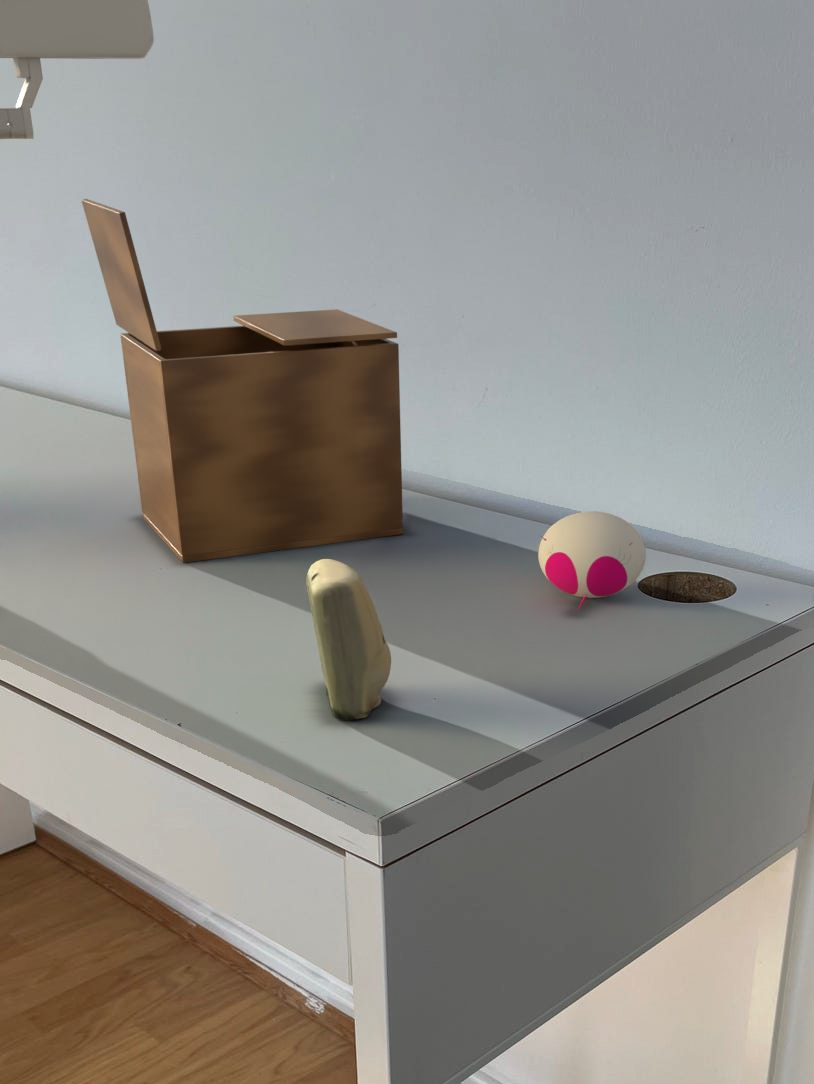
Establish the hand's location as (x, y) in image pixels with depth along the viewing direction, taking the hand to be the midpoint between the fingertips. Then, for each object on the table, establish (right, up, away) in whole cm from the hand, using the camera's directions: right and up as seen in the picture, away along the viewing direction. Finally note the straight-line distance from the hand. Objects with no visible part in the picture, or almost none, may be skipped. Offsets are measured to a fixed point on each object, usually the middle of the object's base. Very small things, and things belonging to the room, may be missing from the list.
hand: (10, 139), depth 88 cm
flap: (+6, -6, +7) cm, 11 cm away
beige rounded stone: (+23, -39, -11) cm, 47 cm away
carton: (+14, -21, +20) cm, 32 cm away
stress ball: (+39, -30, +5) cm, 49 cm away
